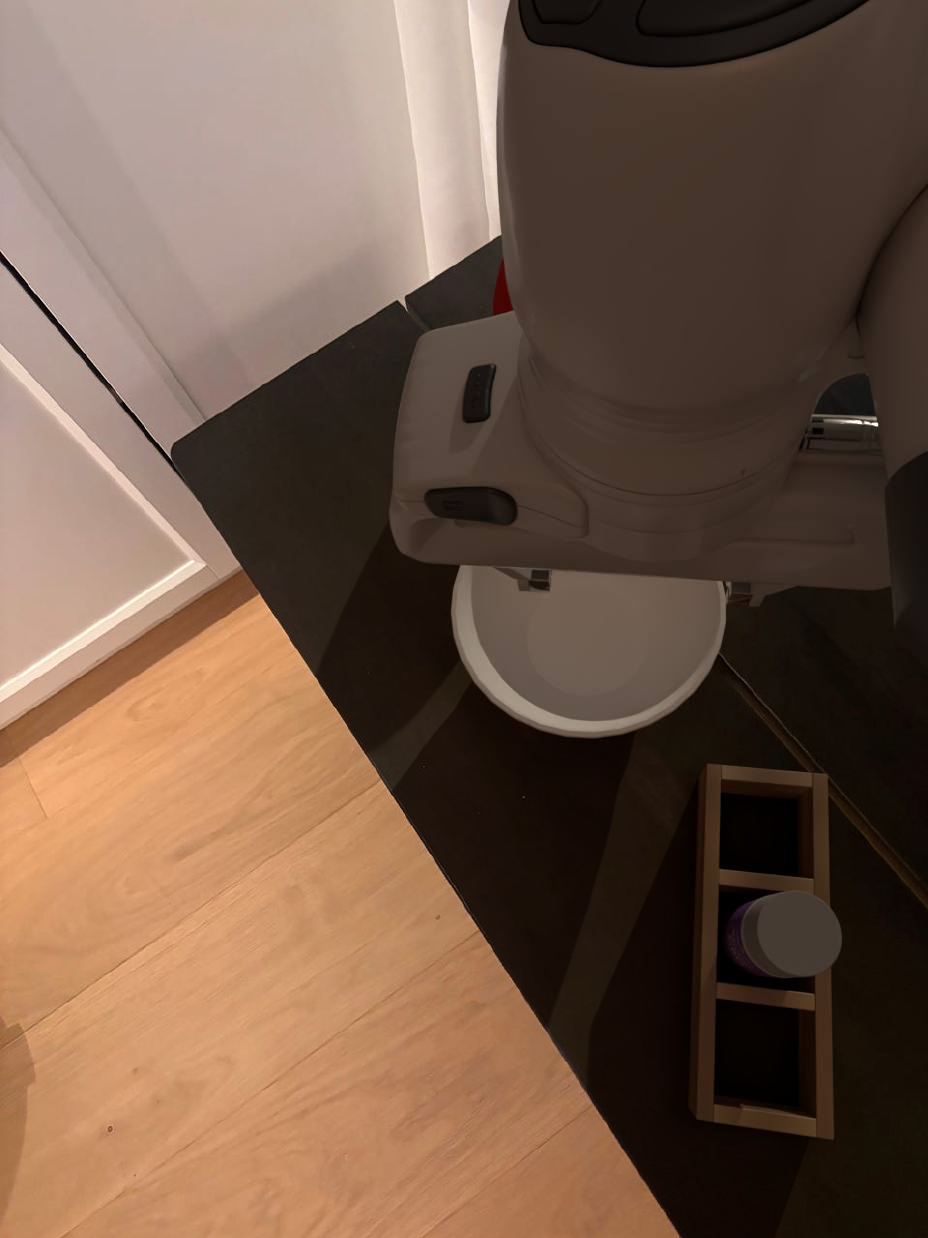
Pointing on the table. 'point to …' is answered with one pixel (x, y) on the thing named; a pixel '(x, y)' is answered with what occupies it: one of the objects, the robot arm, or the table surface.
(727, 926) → the container
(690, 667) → the bowl
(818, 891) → the rack
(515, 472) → the robot arm
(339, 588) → the table surface
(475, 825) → the table surface
